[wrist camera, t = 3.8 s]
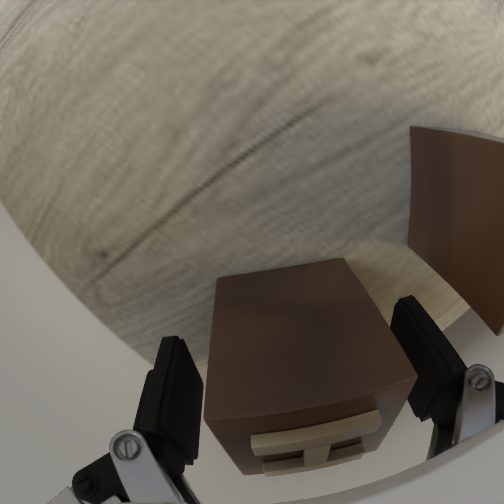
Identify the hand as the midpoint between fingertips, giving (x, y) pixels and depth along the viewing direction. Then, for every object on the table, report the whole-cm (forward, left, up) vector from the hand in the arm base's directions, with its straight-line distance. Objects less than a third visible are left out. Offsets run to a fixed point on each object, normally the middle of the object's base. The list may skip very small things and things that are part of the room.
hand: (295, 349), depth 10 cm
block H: (0, 0, -2) cm, 2 cm away
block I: (+8, +5, -2) cm, 10 cm away
